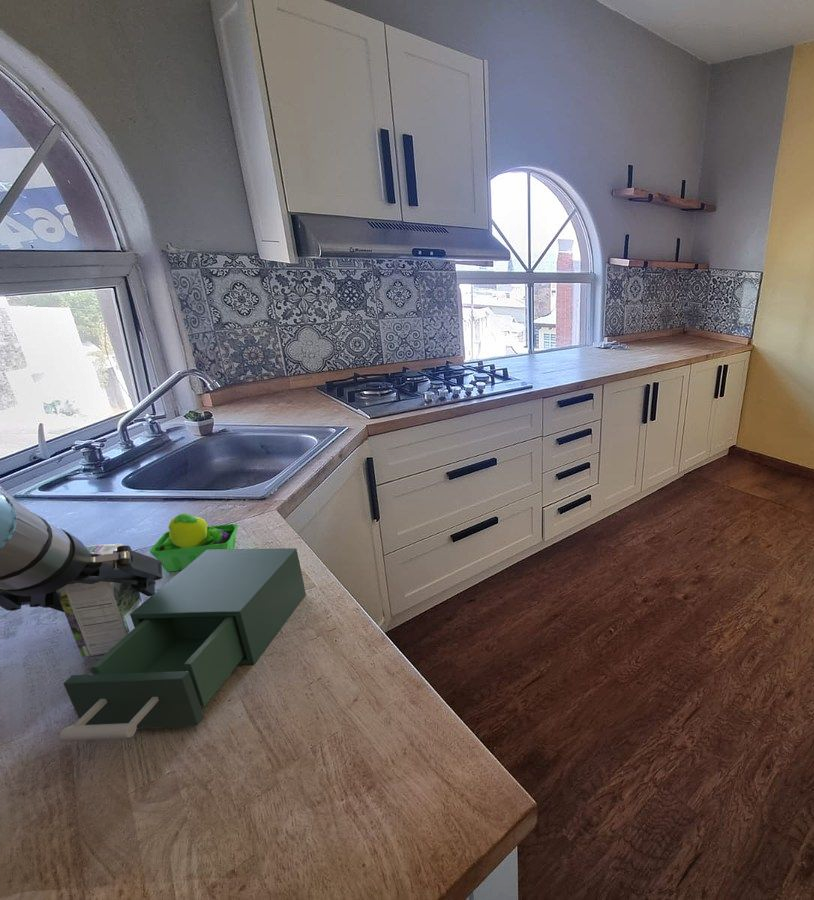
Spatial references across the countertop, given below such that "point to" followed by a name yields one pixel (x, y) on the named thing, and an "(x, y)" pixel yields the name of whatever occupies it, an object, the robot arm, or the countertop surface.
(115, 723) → the green drawer
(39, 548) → the robot arm
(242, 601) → the green drawer cabinet
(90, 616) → the syrup box
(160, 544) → the fruit basket
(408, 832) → the countertop surface
